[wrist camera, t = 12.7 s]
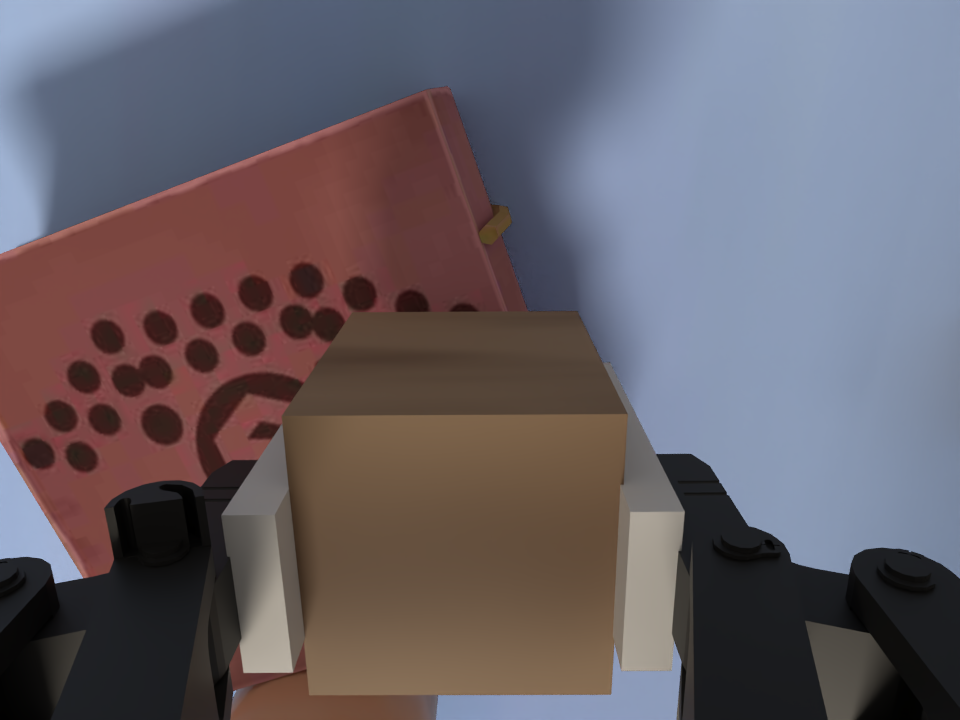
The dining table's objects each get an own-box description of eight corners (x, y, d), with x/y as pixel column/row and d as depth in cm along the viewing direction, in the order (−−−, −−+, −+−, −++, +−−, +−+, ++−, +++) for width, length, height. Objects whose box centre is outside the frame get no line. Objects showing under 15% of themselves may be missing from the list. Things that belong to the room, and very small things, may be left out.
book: (605, 490, 26) (631, 573, 21) (219, 610, 28) (164, 711, 23) (466, 86, 22) (461, 75, 17) (24, 256, 24) (-92, 290, 19)
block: (570, 510, 18) (611, 695, 12) (364, 511, 18) (309, 695, 12) (576, 310, 16) (627, 413, 11) (352, 312, 16) (281, 416, 11)
